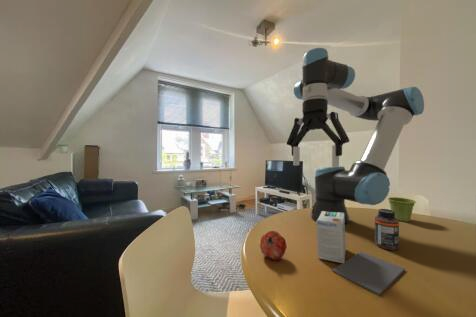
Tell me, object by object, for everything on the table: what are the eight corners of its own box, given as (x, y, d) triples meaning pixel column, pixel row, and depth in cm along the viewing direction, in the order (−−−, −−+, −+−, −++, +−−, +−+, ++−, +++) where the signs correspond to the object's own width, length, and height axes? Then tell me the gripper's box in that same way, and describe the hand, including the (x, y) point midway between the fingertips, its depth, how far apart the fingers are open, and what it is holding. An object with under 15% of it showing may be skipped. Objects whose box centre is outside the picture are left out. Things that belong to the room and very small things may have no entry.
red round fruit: (264, 256, 60) (249, 246, 53) (274, 233, 62) (260, 222, 56) (285, 268, 54) (271, 259, 48) (295, 243, 57) (283, 231, 51)
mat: (332, 271, 48) (332, 269, 48) (360, 253, 56) (360, 251, 56) (379, 295, 40) (379, 293, 40) (404, 270, 48) (404, 268, 48)
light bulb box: (322, 243, 62) (320, 210, 63) (346, 247, 59) (344, 212, 59) (317, 258, 53) (315, 219, 53) (345, 264, 50) (343, 222, 50)
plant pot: (422, 223, 79) (422, 202, 79) (398, 223, 80) (399, 202, 79) (402, 215, 89) (403, 197, 89) (382, 216, 89) (382, 197, 89)
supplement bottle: (376, 240, 65) (377, 206, 64) (399, 246, 60) (400, 210, 60) (372, 246, 60) (372, 210, 60) (397, 253, 56) (397, 214, 56)
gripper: (277, 106, 70) (276, 164, 70) (351, 87, 50) (350, 168, 51) (289, 109, 74) (289, 164, 75) (362, 93, 55) (361, 167, 55)
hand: (314, 166), depth 63 cm, fingers open, 13 cm apart
